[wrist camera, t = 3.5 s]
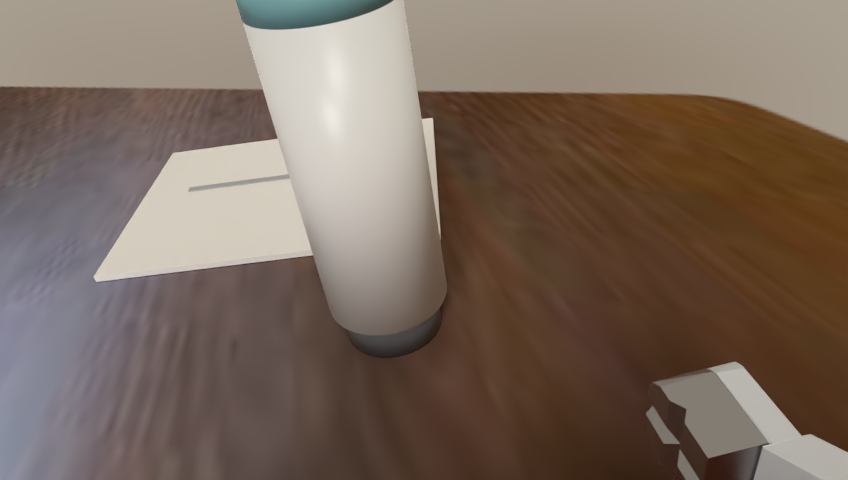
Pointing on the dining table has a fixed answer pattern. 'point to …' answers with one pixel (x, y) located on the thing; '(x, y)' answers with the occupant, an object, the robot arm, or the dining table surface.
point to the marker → (355, 161)
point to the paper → (220, 212)
